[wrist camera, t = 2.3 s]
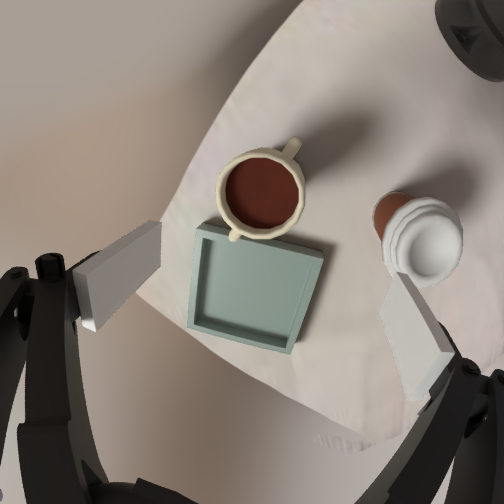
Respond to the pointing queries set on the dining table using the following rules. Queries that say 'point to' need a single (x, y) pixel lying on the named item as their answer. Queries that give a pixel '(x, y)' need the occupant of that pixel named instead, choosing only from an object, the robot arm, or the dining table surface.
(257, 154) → the character mug
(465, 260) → the dining table surface
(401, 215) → the coffee cup
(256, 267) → the tray
